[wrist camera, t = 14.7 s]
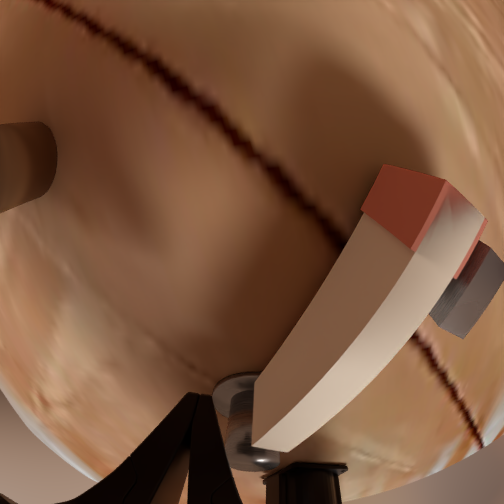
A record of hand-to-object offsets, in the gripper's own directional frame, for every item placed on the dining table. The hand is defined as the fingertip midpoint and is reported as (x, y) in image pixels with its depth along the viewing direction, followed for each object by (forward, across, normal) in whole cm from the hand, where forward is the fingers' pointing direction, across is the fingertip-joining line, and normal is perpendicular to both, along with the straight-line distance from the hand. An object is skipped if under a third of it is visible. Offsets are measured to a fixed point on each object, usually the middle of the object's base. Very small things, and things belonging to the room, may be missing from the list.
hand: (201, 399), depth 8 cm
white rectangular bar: (+4, -5, -2) cm, 7 cm away
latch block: (+4, -9, -5) cm, 11 cm away
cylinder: (+4, +10, -8) cm, 13 cm away
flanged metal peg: (+4, -2, +6) cm, 7 cm away
